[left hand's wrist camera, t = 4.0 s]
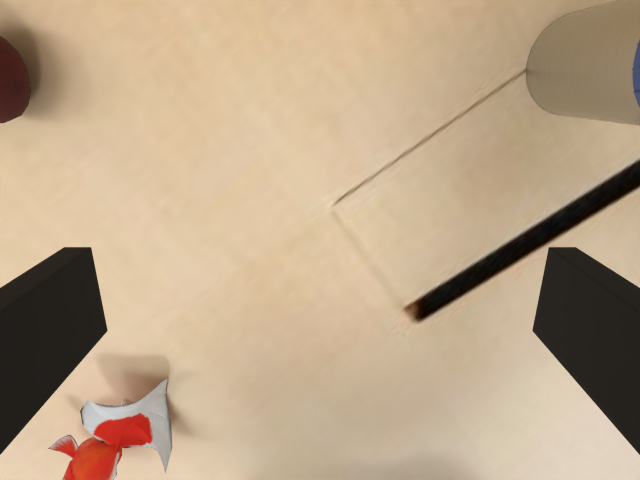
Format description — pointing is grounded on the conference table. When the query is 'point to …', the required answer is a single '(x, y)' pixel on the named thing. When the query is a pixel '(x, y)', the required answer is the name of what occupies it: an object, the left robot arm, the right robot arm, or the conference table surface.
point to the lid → (637, 74)
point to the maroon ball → (12, 83)
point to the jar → (588, 64)
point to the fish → (118, 435)
